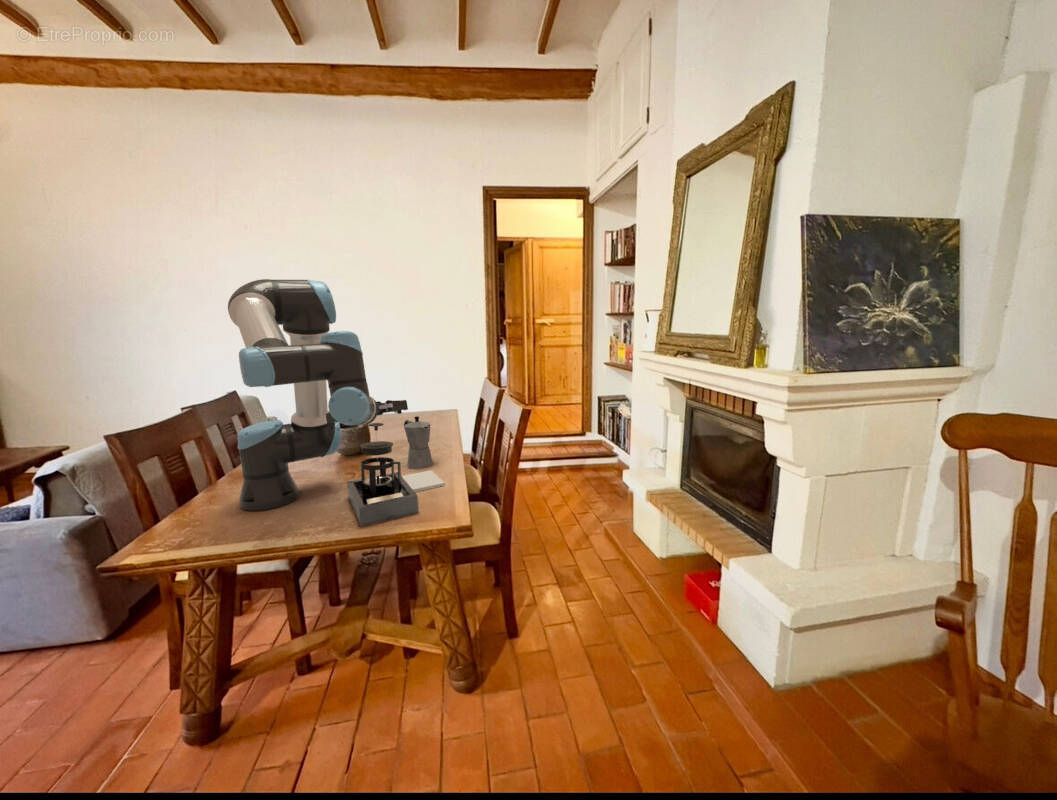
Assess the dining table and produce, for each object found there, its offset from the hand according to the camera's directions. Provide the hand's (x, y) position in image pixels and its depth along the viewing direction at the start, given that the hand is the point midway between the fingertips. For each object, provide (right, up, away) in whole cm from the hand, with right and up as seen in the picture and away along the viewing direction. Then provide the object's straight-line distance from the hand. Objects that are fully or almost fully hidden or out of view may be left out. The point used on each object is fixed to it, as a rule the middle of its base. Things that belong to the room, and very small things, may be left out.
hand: (371, 412), depth 122 cm
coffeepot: (+4, -20, +38) cm, 43 cm away
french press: (+1, -26, +5) cm, 27 cm away
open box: (+2, -26, +3) cm, 27 cm away
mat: (+9, -23, +20) cm, 32 cm away
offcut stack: (+6, -28, -3) cm, 28 cm away
